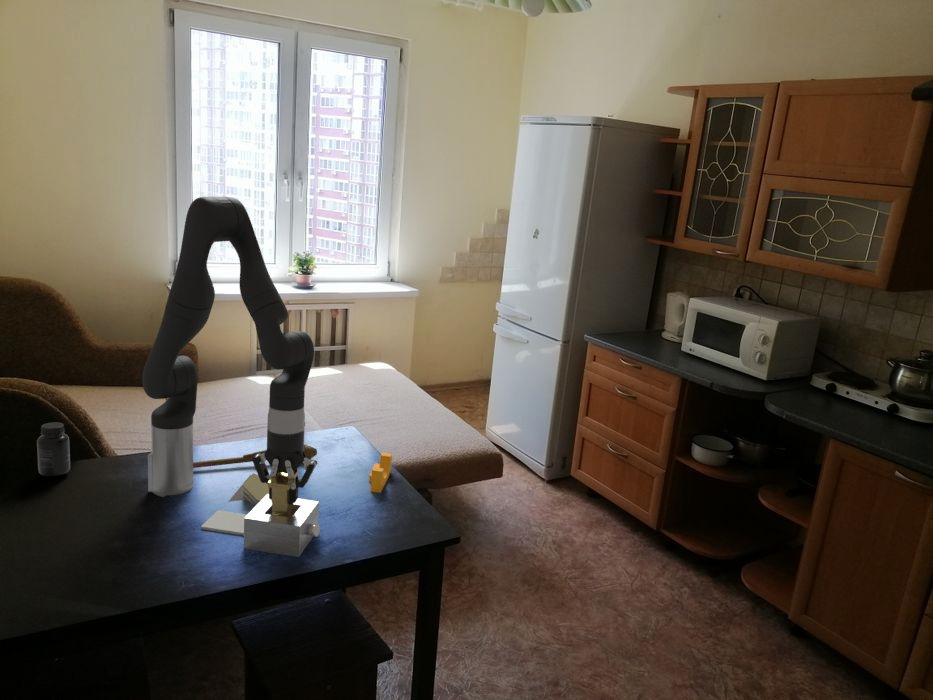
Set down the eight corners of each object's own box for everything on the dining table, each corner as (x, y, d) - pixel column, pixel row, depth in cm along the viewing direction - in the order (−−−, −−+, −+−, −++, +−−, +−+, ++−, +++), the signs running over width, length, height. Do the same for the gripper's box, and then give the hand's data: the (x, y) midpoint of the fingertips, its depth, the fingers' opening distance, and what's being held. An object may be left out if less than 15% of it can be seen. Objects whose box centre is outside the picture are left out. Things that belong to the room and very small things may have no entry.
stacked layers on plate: (227, 502, 168) (230, 490, 165) (250, 474, 175) (253, 463, 171) (263, 523, 168) (266, 512, 164) (285, 495, 174) (288, 484, 170)
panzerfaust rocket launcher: (179, 471, 185) (178, 454, 184) (314, 456, 198) (314, 440, 197) (180, 479, 181) (178, 461, 179) (318, 463, 194) (318, 446, 193)
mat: (200, 528, 155) (200, 526, 155) (217, 512, 163) (218, 510, 163) (244, 535, 154) (244, 533, 154) (259, 518, 162) (259, 516, 162)
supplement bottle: (76, 471, 176) (74, 425, 174) (48, 479, 171) (45, 432, 168) (60, 463, 180) (58, 418, 177) (32, 471, 174) (30, 425, 171)
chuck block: (243, 548, 149) (244, 518, 147) (266, 522, 161) (267, 493, 159) (308, 558, 148) (309, 527, 146) (326, 531, 159) (327, 502, 157)
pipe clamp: (374, 474, 192) (376, 451, 190) (390, 476, 191) (392, 453, 190) (363, 493, 180) (365, 469, 178) (380, 495, 180) (382, 471, 178)
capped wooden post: (268, 526, 151) (267, 482, 147) (276, 514, 155) (275, 471, 152) (288, 528, 151) (288, 485, 147) (295, 517, 155) (295, 474, 151)
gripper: (246, 428, 145) (244, 505, 149) (313, 436, 144) (310, 514, 148) (259, 416, 152) (257, 490, 156) (324, 424, 151) (320, 498, 155)
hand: (283, 501), depth 152 cm, fingers closed on capped wooden post, 3 cm apart
